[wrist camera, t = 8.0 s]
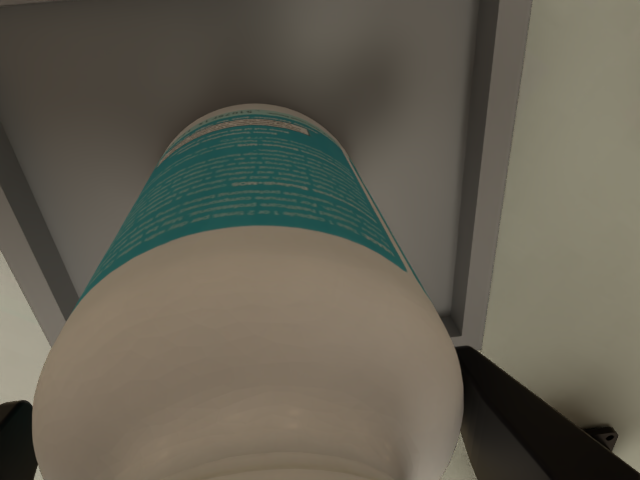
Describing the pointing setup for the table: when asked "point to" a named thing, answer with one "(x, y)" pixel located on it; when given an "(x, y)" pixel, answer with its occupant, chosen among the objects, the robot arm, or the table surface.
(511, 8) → the tray
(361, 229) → the pill bottle
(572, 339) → the table surface
